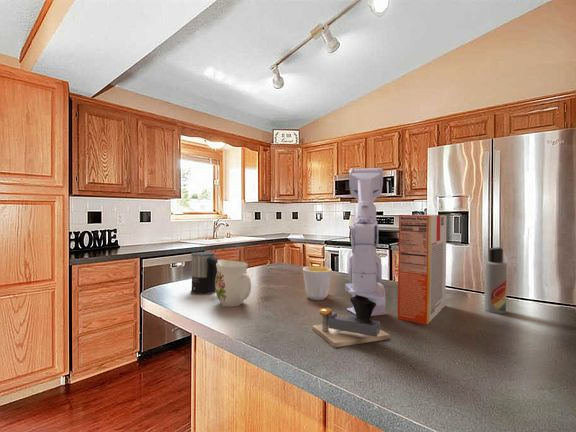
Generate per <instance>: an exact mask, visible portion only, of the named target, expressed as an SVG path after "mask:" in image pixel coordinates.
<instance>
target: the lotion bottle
mask: <svg viewBox="0 0 576 432" xmlns="http://www.w3.org/2000/svg"><path fill="white" fill-rule="evenodd" d="M507 271H508V270H507V263H505V262H504V249H503V248H502V247H489V248H488V261H486V262H484V299H483V300H484V301H483V302H484V305H483V307H484V310H485V311H486V312H489V313H492V312H493V313H492V314H505V313H506V311H507Z"/></svg>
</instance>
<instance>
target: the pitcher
mask: <svg viewBox="0 0 576 432" xmlns="http://www.w3.org/2000/svg"><path fill="white" fill-rule="evenodd" d="M217 261H218V262H217V263H216V267H217V274H216V278H215V290H216V291H215V294H216V296H217V300H218V301H219V303H220V304H221V306H223V305H224V307H237V306H236V305H238V306H240V304H241V305H242V304H243V303H244V301H245V300H248V298H249V297H250V295H251V291H252V290H251V289H252V281H251V278H250V276H249V275H248V273H247V269H248V263H247V262H245V261H244V262H243V261H237V260H229V259H220V260H217Z"/></svg>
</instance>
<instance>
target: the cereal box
mask: <svg viewBox="0 0 576 432" xmlns="http://www.w3.org/2000/svg"><path fill="white" fill-rule="evenodd" d="M447 217H448V216H447V215H446V214H399V216H398V272H397V275H398V276H397V277H398V278H397V280H398V281H397V282H398V283H397V319H399V320H404V321H409V322H413V323H419V324H423V325H428V324H429V323H430V322H431V321H432V320H433V319H434V318H435V317H436V316H437V315H438V314H439V313H440V312H441V311H442V310H443V309H444V308H445V306H446V292H447V291H446V288H447V287H446V282H447V281H446V279H447V277H446V276H447V226H448V224H447V221H448V220H447ZM442 308H443V309H442ZM441 309H442V310H441Z"/></svg>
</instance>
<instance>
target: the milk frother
mask: <svg viewBox="0 0 576 432" xmlns="http://www.w3.org/2000/svg"><path fill="white" fill-rule="evenodd" d="M216 254H217V253H216V252H214V251H197V252H191V253H190V255H191V289H190V290H191V291H190V293H191V292H192V293H191V294H193V293H195V295H207V294H208V293H209V294H212V293H216V290H215V278H216V274H217V267H216V263H217V262H218V261H217V260H221V259H219V258H218V257H216V256H215V255H216Z"/></svg>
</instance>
